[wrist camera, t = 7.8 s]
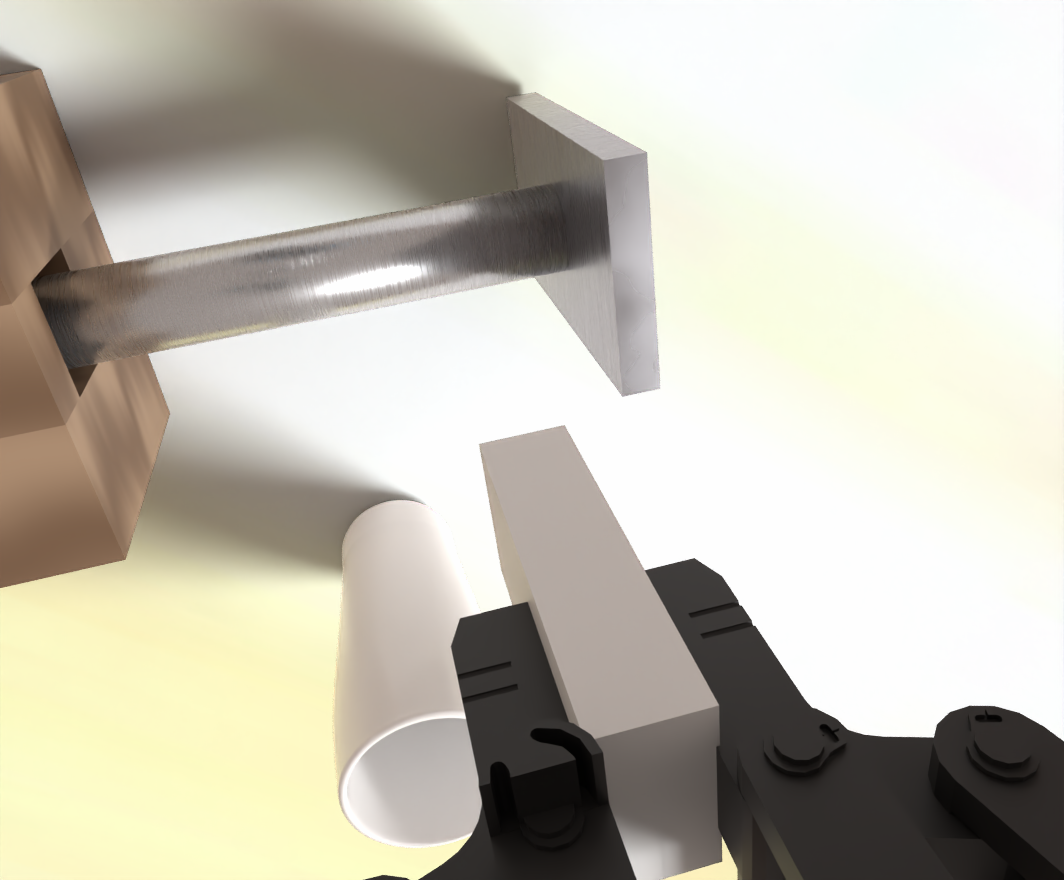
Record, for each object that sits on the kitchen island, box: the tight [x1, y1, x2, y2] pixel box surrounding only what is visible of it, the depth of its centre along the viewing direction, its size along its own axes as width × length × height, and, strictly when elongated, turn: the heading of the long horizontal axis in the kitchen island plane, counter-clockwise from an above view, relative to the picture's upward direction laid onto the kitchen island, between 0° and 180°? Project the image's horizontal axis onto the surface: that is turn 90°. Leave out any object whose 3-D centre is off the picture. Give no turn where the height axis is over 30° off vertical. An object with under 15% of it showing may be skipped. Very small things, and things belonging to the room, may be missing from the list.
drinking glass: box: [333, 500, 482, 848], centre depth 37 cm, size 7×7×15 cm
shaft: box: [31, 92, 660, 396], centre depth 29 cm, size 7×24×13 cm, turn 97°
